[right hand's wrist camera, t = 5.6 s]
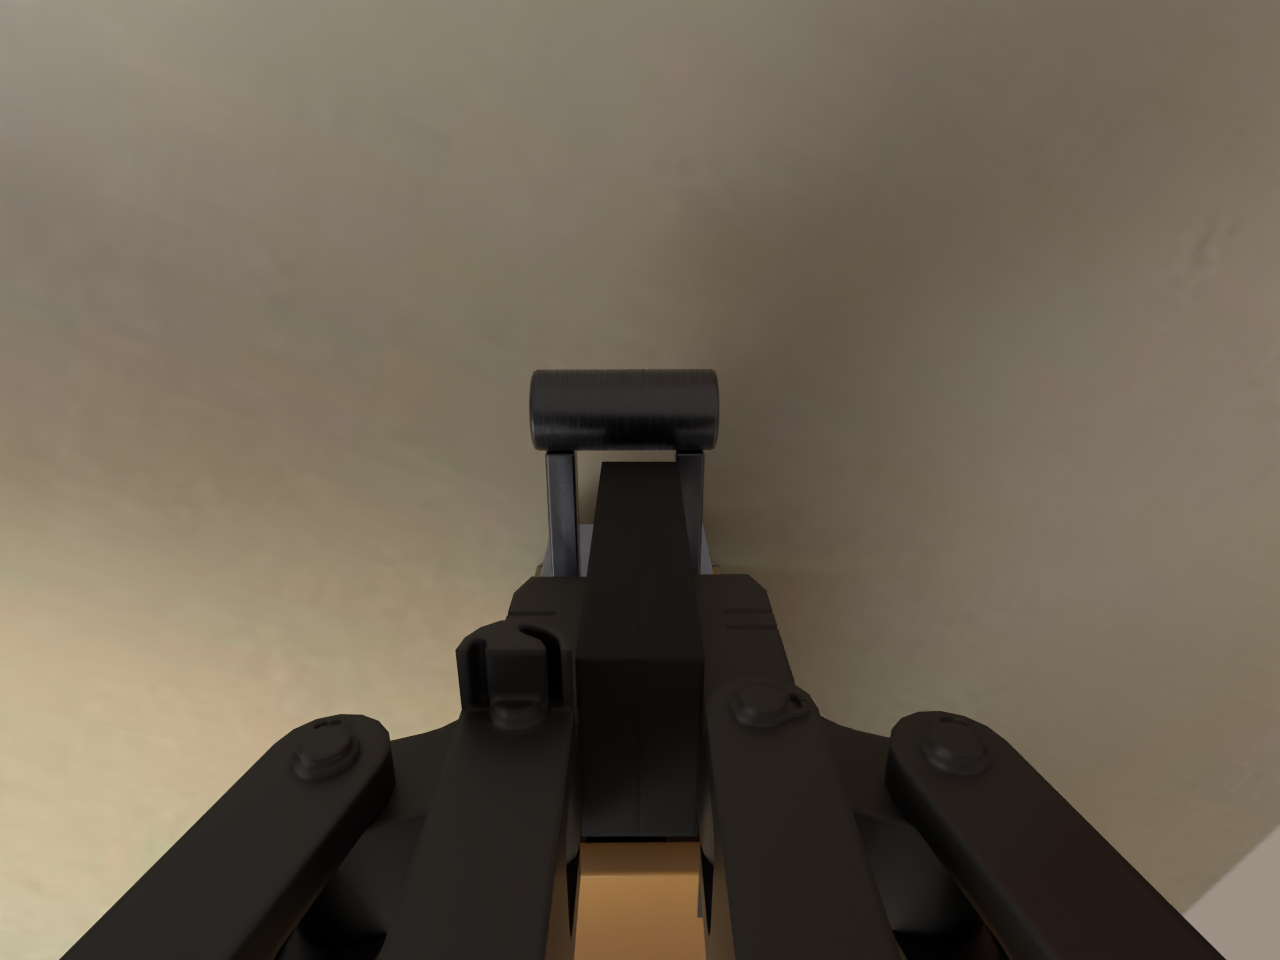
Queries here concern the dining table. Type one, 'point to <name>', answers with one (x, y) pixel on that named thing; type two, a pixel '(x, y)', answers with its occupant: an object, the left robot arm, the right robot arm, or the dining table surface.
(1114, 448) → the dining table surface
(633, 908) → the cabinet
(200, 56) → the dining table surface
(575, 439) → the drawer
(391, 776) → the right robot arm
